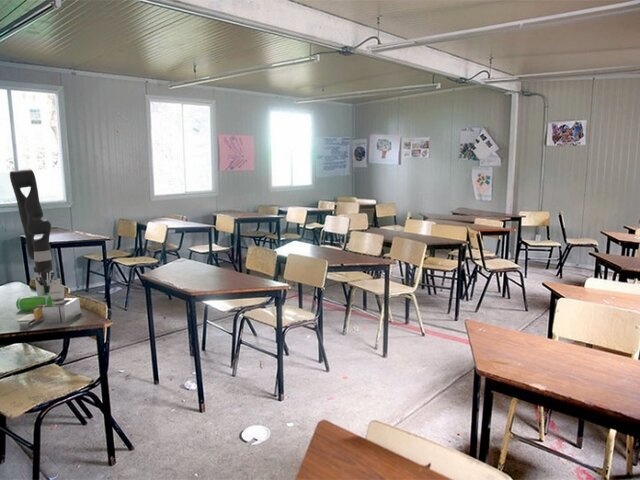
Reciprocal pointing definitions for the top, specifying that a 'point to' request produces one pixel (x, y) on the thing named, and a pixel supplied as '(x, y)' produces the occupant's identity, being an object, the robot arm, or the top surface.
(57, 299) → the plastic bottle
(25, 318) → the mat
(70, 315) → the small white box
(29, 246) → the robot arm
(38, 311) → the orange rounded block
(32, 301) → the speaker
